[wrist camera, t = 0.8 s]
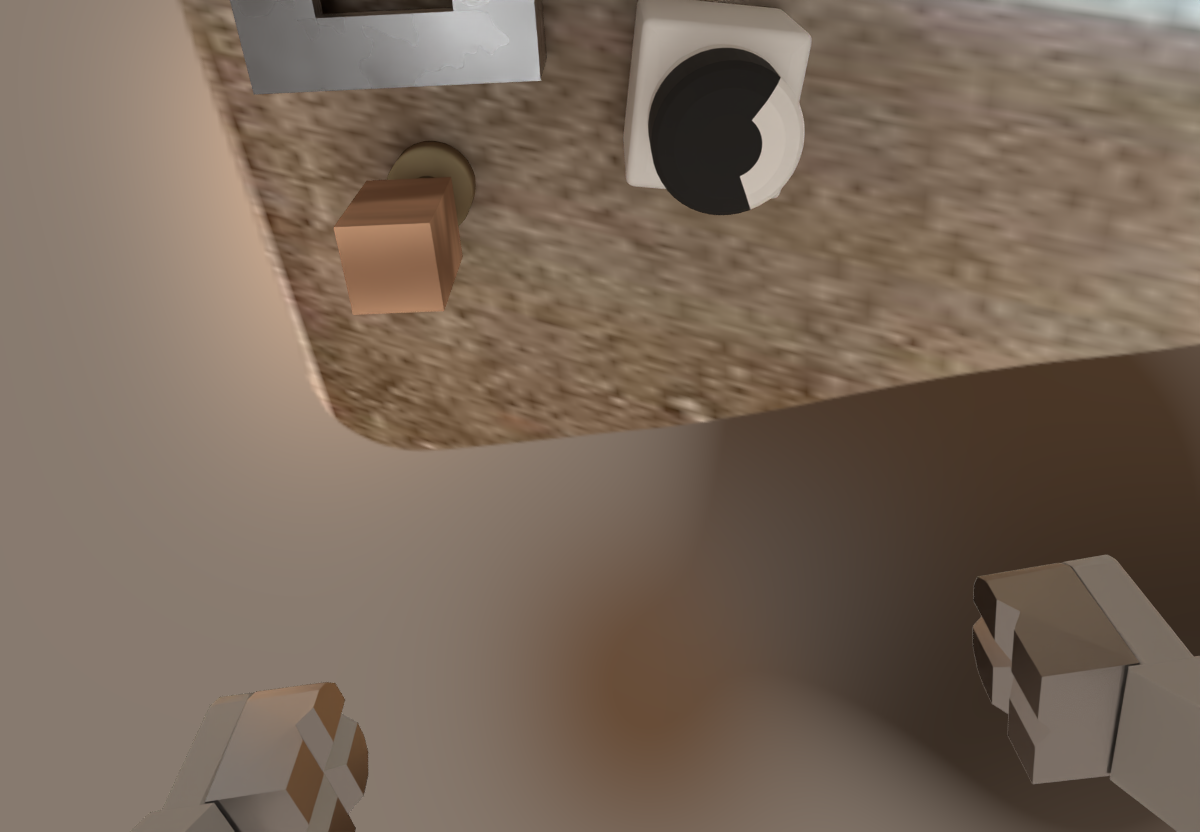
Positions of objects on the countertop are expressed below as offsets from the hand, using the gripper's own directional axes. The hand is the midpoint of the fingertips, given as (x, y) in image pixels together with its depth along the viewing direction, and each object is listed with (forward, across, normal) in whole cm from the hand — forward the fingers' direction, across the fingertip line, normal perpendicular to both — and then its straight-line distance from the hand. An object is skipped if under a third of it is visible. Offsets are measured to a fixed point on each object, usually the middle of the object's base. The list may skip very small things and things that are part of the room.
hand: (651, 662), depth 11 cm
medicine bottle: (+38, -5, +1) cm, 39 cm away
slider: (+38, +10, +3) cm, 40 cm away
